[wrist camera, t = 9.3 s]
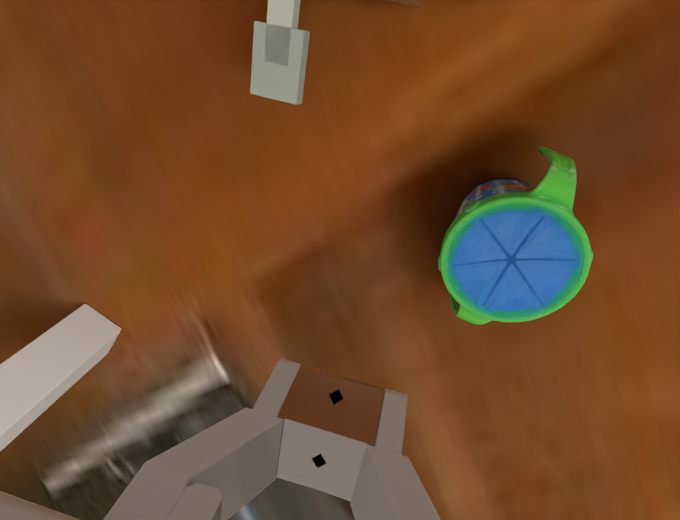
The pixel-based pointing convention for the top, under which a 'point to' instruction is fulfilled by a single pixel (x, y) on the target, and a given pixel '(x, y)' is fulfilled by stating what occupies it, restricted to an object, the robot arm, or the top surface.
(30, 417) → the milk
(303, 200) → the top surface
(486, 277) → the snack cup
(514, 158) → the top surface
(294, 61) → the lever
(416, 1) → the stand
